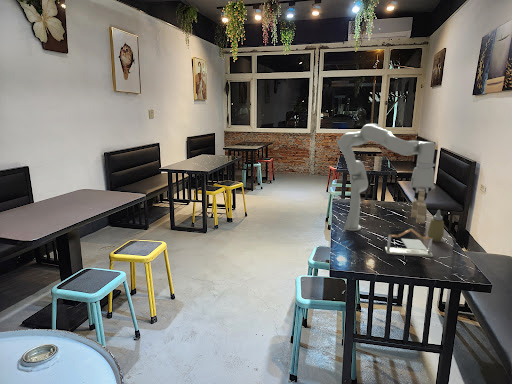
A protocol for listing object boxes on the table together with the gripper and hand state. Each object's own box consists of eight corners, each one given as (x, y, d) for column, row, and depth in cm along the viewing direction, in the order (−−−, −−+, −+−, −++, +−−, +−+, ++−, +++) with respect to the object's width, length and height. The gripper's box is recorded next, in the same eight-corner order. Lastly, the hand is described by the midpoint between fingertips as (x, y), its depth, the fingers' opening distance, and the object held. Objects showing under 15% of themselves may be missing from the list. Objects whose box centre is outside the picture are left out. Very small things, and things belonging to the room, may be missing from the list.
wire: (384, 249, 176) (387, 225, 172) (428, 252, 172) (432, 228, 169) (387, 253, 170) (389, 229, 167) (432, 257, 166) (436, 232, 163)
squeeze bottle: (434, 243, 184) (438, 212, 179) (423, 238, 191) (427, 208, 187) (445, 241, 186) (450, 211, 181) (434, 236, 193) (439, 207, 189)
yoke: (410, 216, 183) (414, 187, 179) (418, 216, 183) (422, 188, 179) (416, 223, 173) (420, 192, 169) (424, 223, 172) (428, 193, 168)
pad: (401, 239, 189) (401, 238, 189) (419, 240, 187) (419, 239, 187) (407, 249, 176) (407, 248, 175) (427, 250, 174) (427, 249, 174)
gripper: (438, 165, 173) (434, 198, 177) (405, 164, 175) (402, 197, 180) (444, 167, 165) (439, 202, 170) (409, 166, 168) (405, 200, 173)
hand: (420, 199), depth 175 cm, fingers closed on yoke, 3 cm apart
